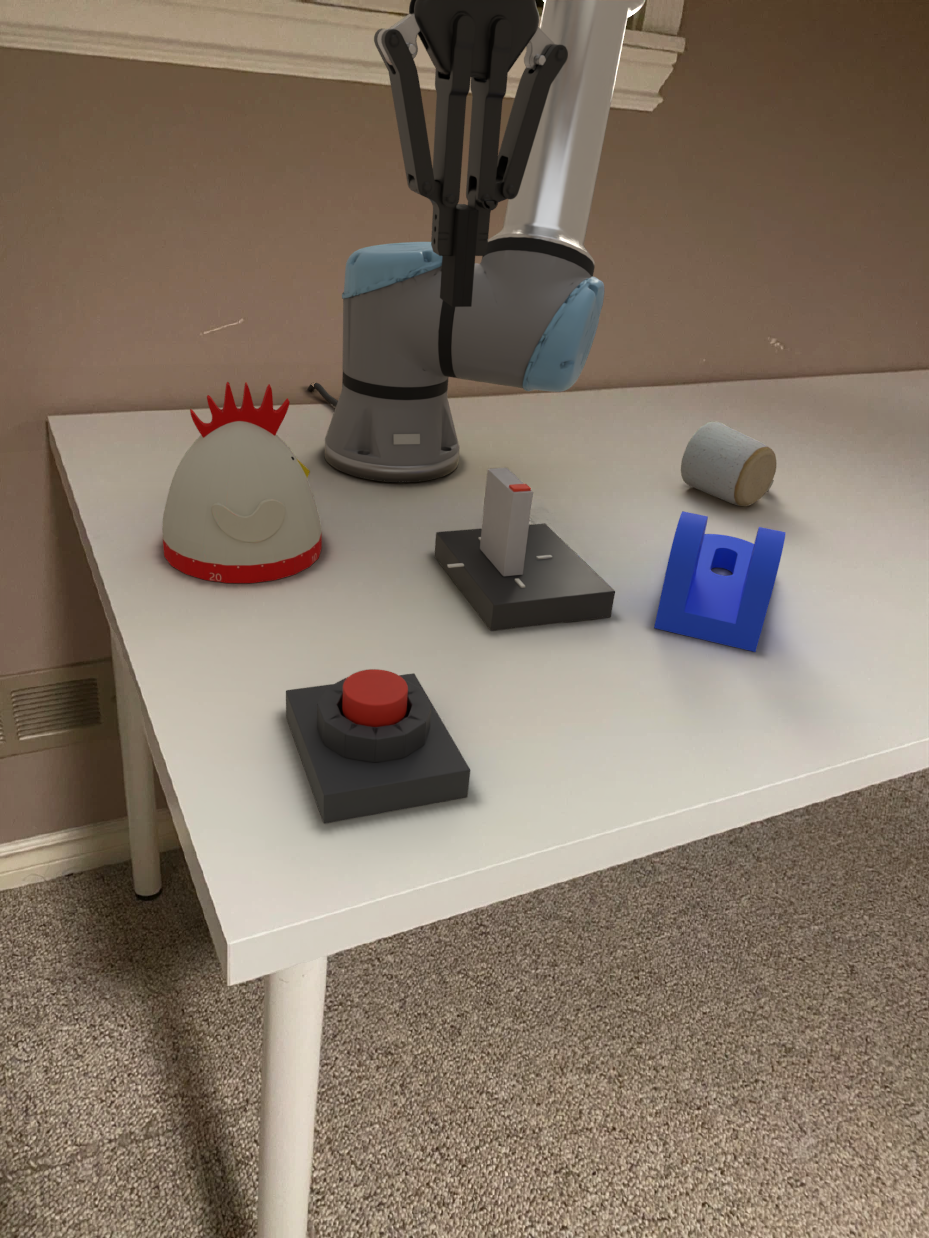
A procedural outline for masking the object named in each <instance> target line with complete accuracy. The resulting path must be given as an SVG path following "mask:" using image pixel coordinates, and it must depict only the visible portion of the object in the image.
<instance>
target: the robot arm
mask: <svg viewBox="0 0 929 1238" xmlns="http://www.w3.org/2000/svg"><path fill="white" fill-rule="evenodd" d="M542 1H543V2H544V3H543V10H542V14H541V20H540V14H539V10H538V8H537V3H536V0H410V3H409V6H408V14H407V15H406V16H404V17H402V18H401V19H400V20H398V21H397V22H396V23H394V24H393V25H391V26H390V27H388V28H380V29H377V31H376V32H375V33H374V36H373V43H374V46H375V47H376V49H377V51H378V53H379V56H380V57H381V60H382V61H383V63H384V66H385V68H386V70H387V72H388V77H389V83H390V89H391V94H392V100H393V101H392V102H393V106H394V112H395V118H396V125H397V131H398V136H399V141H400V142H399V143H400V148H401V154H402V160H403V166H404V172H405V179H406V183H407V187H408V188H409V190H410V191H412V192H414V193H416V194H418V195H420V196H422V197H424V198H426V199H428V200H429V201H430V203H431V204H432V217H431V218H432V220H431V221H432V222H431V237H430V238H431V239H430V241H407V242H394V243H384V244H377V245H369V246H365V247H362V248H359V249H357V250H355V251H353V252H352V253H351V254H350V255H349V257H348V258H347V260H346V262H345V269H344V286H343V292H342V293H341V299H342V365H341V366H342V367H341V368H342V377H341V378H342V379H341V392H340V394H339V396H338V399H337V398H335V397H333V396H332V395H330V393H328V392H327V390H326V389H325V388H324V387H323V385H321V384H320V383H318V382H316V383H315V384H314V387H313V386H312V385H311V384H312V383H310V384H309V385H308V388H307V390H306V391H308V392H314V391H315V390H316V391H317V392H318V393H319V394H320V396H321V397H322V398H323V399H324V400H325V401H326V402H328V403H329V404H331V405H332V406H333V407H335V408H334V411H333V414H332V417H331V420H330V423H329V426H328V429H327V432H326V435H325V437H324V458H325V461H326V462H327V464H329V465H330V466H331V467H333V468H334V469H335V470H338V471H339V472H342V473H344V474H346V475H349V476H353V477H357V478H360V479H364V480H369V481H374V482H375V481H376V482H385V483H419V482H426V481H431V480H436V479H440V478H443V477H445V476H447V475H449V474H451V473H452V472H454V471H455V470H456V469H457V468H458V465H459V459H460V443H459V439H458V436H457V430H456V427H455V423H454V419H453V414H452V411H451V407H450V402H449V396H448V393H449V392H448V391H449V378H453V379H459V380H465V381H466V380H467V381H473V382H479V383H486V384H492V385H499V386H505V387H512V388H518V389H523V390H524V391H526V392H533V391H541V392H552V393H562V392H565V391H567V390H569V389H571V388H572V387H573V386H574V385H575V384H576V383H577V381H578V380H579V378H580V376H581V374H582V372H583V370H584V367H585V365H586V363H587V360H588V358H589V355H590V352H591V349H592V347H593V343H594V340H595V337H596V333H597V331H598V327H599V323H600V316H601V312H602V308H603V306H604V299H605V284H604V281H602V280H601V279H599V278H598V277H596V276H594V274H595V273H594V272H595V268H596V262H595V259H594V258H593V257H592V255H591V254H590V252H589V250H588V249H587V247H586V246H585V241H586V236H587V230H588V225H589V220H590V215H591V210H592V206H593V205H592V204H593V199H594V193H595V189H596V184H597V179H598V174H599V169H600V163H601V159H602V158H601V157H602V151H603V146H604V142H605V136H606V131H607V126H608V121H609V115H610V110H611V106H612V99H613V94H614V89H615V85H616V78H617V75H618V68H619V65H620V58H621V52H622V49H623V41H624V38H625V37H624V36H625V32H626V26H627V21H628V18H630V17H631V16H632V15H634V14H635V13H637V12H638V11H639V10H640V9H641V8H642V7H643V6H644V4H645V2H646V0H542ZM418 37H419V39H420V42H421V43H422V45H423V47H424V49H425V52H426V53H427V55H428V57H429V59H430V61H431V63H432V65H433V66H434V68H435V71H434V72H435V74H434V89H435V92H436V100H435V101H436V102H435V121H434V138H433V155H431V150H430V149H431V148H430V142H429V136H428V130H427V122H426V117H425V109H424V103H423V97H422V90H421V84H420V77H419V73H418V68H417V65H416V62H415V58H416V57H417V55H418V53H419V48H418V42H417V39H418ZM525 49H526V51H525ZM524 51H525V54H524V57H523V63H524V66H525V68H524V70H523V72H522V74H521V76H520V79H519V83H518V86H517V88H516V91H515V96H514V99H513V103H512V107H511V110H510V113H509V116H508V120H507V124H506V127H505V131H504V135H503V137H502V141H501V144H500V135H501V123H502V113H503V100H504V98H505V96H506V94H507V87H508V74H509V72H510V71H511V69H512V68H513V66H514V65H515V64H516V62H517V61H518V59H519V58H520V56H521V55H522V53H523V52H524ZM470 92H471V95H472V97H471V111H470V113H471V114H470V129H469V141H468V143H469V144H468V155H467V170H466V171H467V172H466V185H465V186H466V188H465V198H466V200H467V204H465V203H459V202H460V197H461V196H460V195H461V180H462V166H463V165H462V164H463V153H464V138H465V124H466V123H465V122H466V110H467V109H466V108H467V99H468V95H469V93H470ZM499 147H500V148H499ZM505 200H507V202H506V206H505V207H506V208H505V213H504V218H503V224H502V229H500V231H499V232H497V233H496V234H494V235H493V236H492V237H489V234H490V223H491V212H492V211H494V210H495V209H497V207H498V204H499V203H501V202H503V201H505ZM476 257H481V261H480V263H477V262H476Z"/></svg>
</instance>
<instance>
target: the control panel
mask: <svg viewBox="0 0 929 1238" xmlns="http://www.w3.org/2000/svg"><path fill="white" fill-rule="evenodd" d="M481 531H482V527H481V528H469V529H457V530H446V531H445V530H444V531H436V532H435V543H434V555H433V557H434V558H435V559H436V561H437V562H438V564H440V566H441V567H442V568H443V570H444V571H445V573H446V574H447V575H448V576H449V578H450V579H451V581H452V582H453V583H454V584H455V586H456V587H457V589H458V590H459V591H460V592H461V593H462V595H463V596H464V597H465V599H466V601H468V603H469V604H470V606H471V607H472V608H473V610H474V611H475V612H476V614H477V615H478V616H479V617H480V619H481V620H482V622H483V623H484V624H485V625H486V627H487V628H488V629H489V631H490V632H495V631H503V630H513V629H521V628H528V627H529V628H531V627H537V626H545V625H546V626H547V625H554V624H561V623H563V624H564V623H565V624H566V623H573V622H581V621H589V620H597V619H607V618H611V617H612V611H613V607H614V601H615V596H616V590H615V589H613V587H612V586H611V585H610V584H608V583H607V582H606V581H605V580H604V578H602V577H601V576H600V575H599V573H597V572H596V571H595V570H594V569H593V568H592V567H591V566H589V564H588V563H587V562H586V561H585V560H584V559H583V558H581V557H580V555H579V554H578V553H577V552H575V550H573V549H572V548H571V547H570V546H569V545H568V544H567V543H566V542H565V541H564V540H563V539H562V538H561V537H560V536H559V535H558V534H557V533H555V531H553V529H552V528H551V527H549V526H548V524H546V523H532V524H529V529H528V537H527V545H526V552H525V560H524V568H523V575H514V576H503V575H502V574H501V573H500V572H499V571H498V570H497V568H496V567H495V566H494V565H493V564H492V562H491V561H490V560H489V559H488V558H487V557H486V555H485V554H484V553H483V552H482V551H481V550H480V541H481Z"/></svg>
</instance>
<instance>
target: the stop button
mask: <svg viewBox="0 0 929 1238" xmlns="http://www.w3.org/2000/svg"><path fill="white" fill-rule="evenodd" d="M399 675H400V674H397V673H395V672H392V671H390V670H385V669H379V668H377V669H375V668H374V669H373V668H372V669H371V668H370V669H363V670H359V671H356V672H353V673H352V674H350V675H349V676H347V677H348V678H347V677H346V678H347V679H346V680H345V682H344V684H343V701H342V710H343V713H344V715H345V717H346V718H347V719H348V720H350V721H352V722H353V723H355V724H358V725H364V726H370V727H381V726H387V725H394V724H396V723H398V722H400V721H401V720H402V719H403V718H404V716H405V714H406V711H407V696H408V686H407V683H406V682H405V680H404V679H403V678H402V677H400V676H399Z"/></svg>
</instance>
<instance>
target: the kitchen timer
mask: <svg viewBox="0 0 929 1238" xmlns="http://www.w3.org/2000/svg"><path fill="white" fill-rule="evenodd" d="M243 387H244V388H243V394H242V402H241V406H240V407H237V405H236V402H235V397H234V394H233V390H232V388H231V384H230V382H229V381H227V382H226V383H225V389H224V399H223V407H222V409H221V408H220V407H219V406H218V405H217V403H216V402H215V401H214V399H213V398H212V397H211V395H209V394H207V395H206V401H207V405H208V408H209V412H210V414H211V421H210V422H204V421H202V419H200V417H199V416H198V415H197V413H196V412H195V411H194V410H193V409H192V408H190V409H189V413H190V417H191V419H192V422H193V424H194V426H195V427H196V430H197V431H198V433H199V434H200V435H199V436H198V437H197V438H196V439H195V441H194V442H193V443H192V444H191V445H190V447H189V448H188V450H187V451H186V452H185V453H184V455H183V456H182V458H181V460H180V461H179V463H178V464H177V467H176V469H175V471H174V474H173V476H172V479H171V482H170V486H169V489H168V493H167V497H166V501H165V505H164V510H163V516H162V527H161V530H162V546H163V556H164V558H165V560H166V561H167V562H168V563H169V565H170V566H171V567H173V568H174V569H176V570H177V571H179V572H181V573H183V574H185V575H187V576H189V577H190V576H191V577H194V578H197V579H200V580H204V581H210V582H217V583H225V584H254V583H265V582H271V581H276V580H281V579H284V578H286V577H290V576H294V575H297V574H299V573H301V572H302V571H305V570H306V569H308V568H311V566H312V565H313V564H314V563H315V562H316V561H317V560H318V559H320V556H321V552H322V548H323V547H322V543H323V541H322V539H323V538H322V537H323V536H322V535H323V534H322V533H323V532H322V524H321V523H322V522H321V517H320V513H319V510H318V506H317V503H316V500H315V497H314V494H313V491H312V488H311V485H310V482H309V480H308V478H309V476H310V473H311V471H310V469H309V468H308V467H307V466H306V465H304V463H302V462H301V461H300V460H299V459H298V458H297V456H296V455H295V453H294V452H293V451H292V449H291V447H290V446H288V444H287V443H286V442H285V441H284V440H283V439H282V438H281V437H280V436H278V435H277V433H278V432H279V429H280V427H281V425H282V423H283V422H284V419H285V418H286V415H287V413H288V410H289V407H290V404H291V403H290V400H289V398H286V399H285V400H284V401H283V402H282V404H281V405H280V407H279V408H277V409H274V397H273V389H272V386H271V384H270V383H268V384H267V386H266V389H265V390H264V391H265V392H264V395H263V398H262V400H261V404H260V406H259V407H258V408H257V407H255V405H254V401H253V397H252V393H251V390H250V387H249V385H248V382H247V381H245V382H244V386H243Z"/></svg>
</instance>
